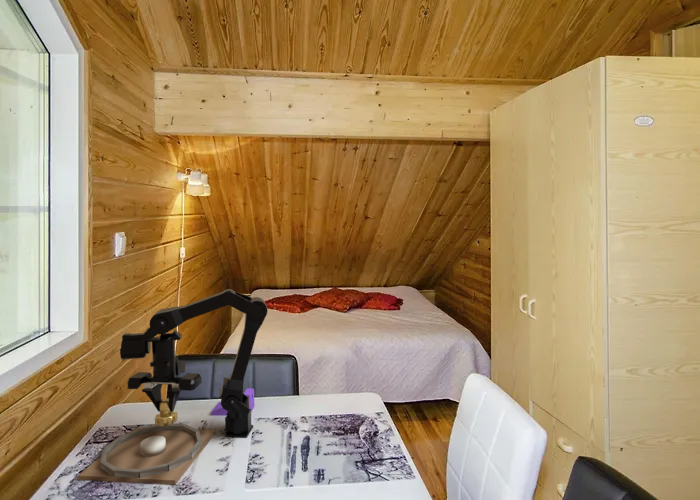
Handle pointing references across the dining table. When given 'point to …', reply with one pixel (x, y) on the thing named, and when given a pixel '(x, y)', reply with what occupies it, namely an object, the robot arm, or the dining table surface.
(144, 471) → the carrier
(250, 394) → the bracket
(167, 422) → the gear
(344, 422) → the dining table surface
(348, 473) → the dining table surface
